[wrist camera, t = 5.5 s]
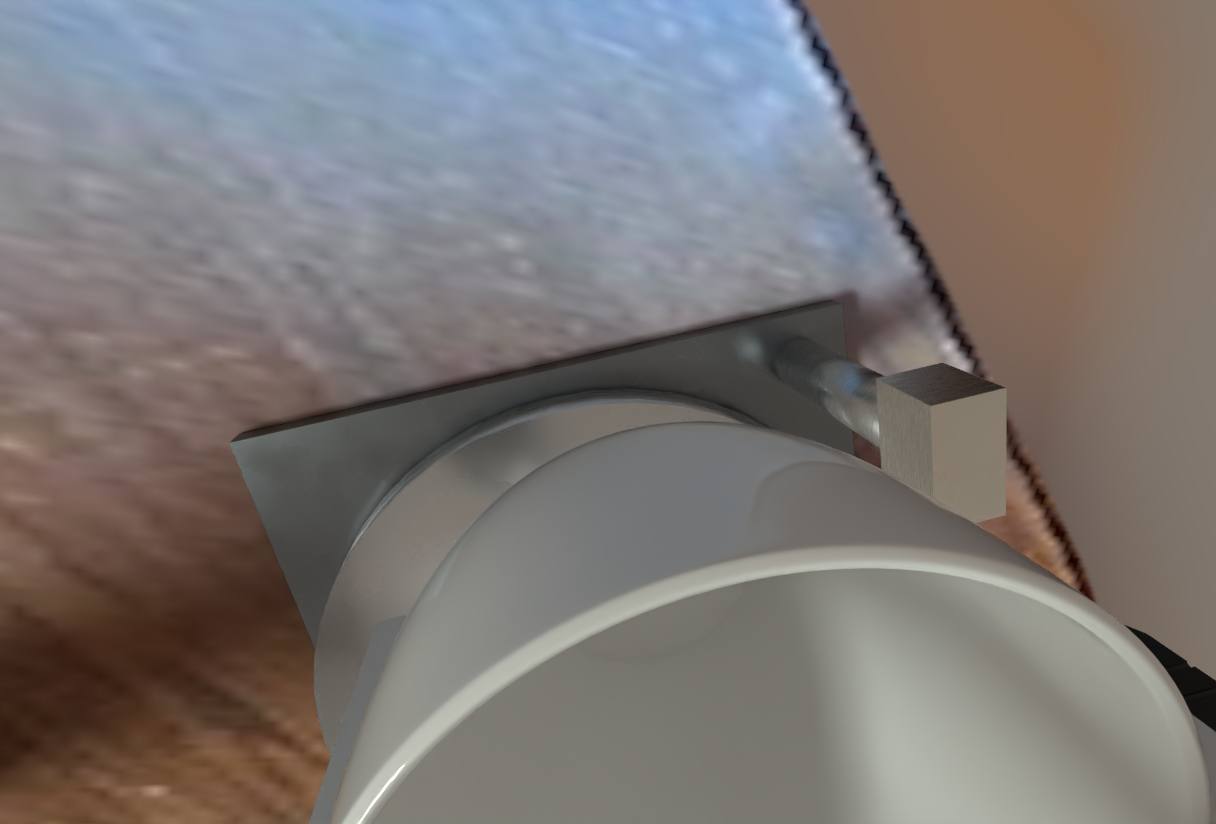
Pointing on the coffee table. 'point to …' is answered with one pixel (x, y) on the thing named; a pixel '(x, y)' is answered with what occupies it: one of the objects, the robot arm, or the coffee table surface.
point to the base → (683, 364)
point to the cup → (758, 659)
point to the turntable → (461, 515)
